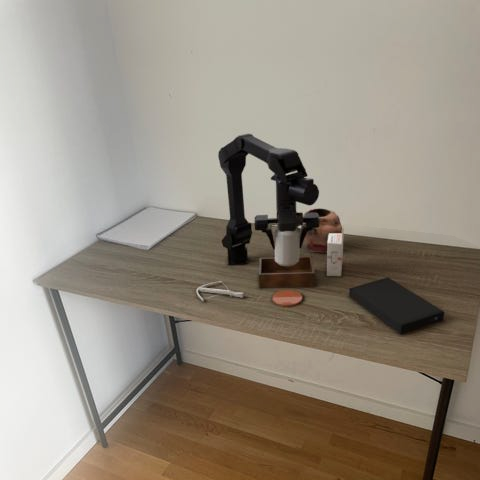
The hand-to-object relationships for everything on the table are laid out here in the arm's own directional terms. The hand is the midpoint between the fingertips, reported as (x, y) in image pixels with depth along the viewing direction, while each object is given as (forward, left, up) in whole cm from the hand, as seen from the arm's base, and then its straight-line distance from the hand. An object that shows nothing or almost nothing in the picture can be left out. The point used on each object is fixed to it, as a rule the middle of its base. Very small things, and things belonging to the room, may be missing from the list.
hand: (286, 248), depth 140 cm
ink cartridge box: (+16, +10, -13) cm, 23 cm away
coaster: (0, -8, -13) cm, 15 cm away
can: (0, 0, -5) cm, 5 cm away
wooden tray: (0, +6, -13) cm, 15 cm away
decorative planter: (+12, +30, -13) cm, 34 cm away
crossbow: (-21, -4, -13) cm, 25 cm away
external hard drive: (+30, -15, -13) cm, 36 cm away
